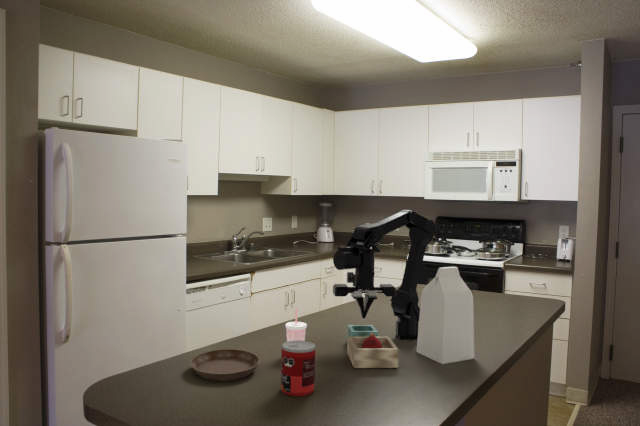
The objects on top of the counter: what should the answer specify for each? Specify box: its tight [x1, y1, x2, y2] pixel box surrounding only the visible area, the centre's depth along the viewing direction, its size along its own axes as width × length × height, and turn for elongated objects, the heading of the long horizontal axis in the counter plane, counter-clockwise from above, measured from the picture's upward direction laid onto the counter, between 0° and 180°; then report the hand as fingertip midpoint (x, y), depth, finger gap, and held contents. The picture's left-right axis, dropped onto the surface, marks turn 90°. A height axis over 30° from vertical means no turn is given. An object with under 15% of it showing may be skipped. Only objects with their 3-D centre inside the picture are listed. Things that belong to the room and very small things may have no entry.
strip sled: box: [346, 324, 400, 369], centre depth 152 cm, size 12×25×5 cm, turn 6°
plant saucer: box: [190, 348, 260, 382], centre depth 135 cm, size 18×18×3 cm
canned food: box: [280, 340, 317, 397], centre depth 123 cm, size 8×8×11 cm
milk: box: [415, 266, 475, 365], centre depth 152 cm, size 12×12×26 cm
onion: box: [362, 333, 382, 348], centre depth 145 cm, size 6×6×8 cm
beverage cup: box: [284, 306, 308, 342], centre depth 149 cm, size 6×6×14 cm
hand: (363, 318), depth 159 cm, fingers closed
